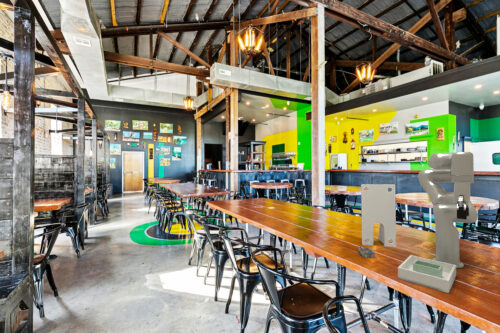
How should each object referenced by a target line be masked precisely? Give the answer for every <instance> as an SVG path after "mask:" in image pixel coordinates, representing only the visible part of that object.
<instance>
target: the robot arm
mask: <svg viewBox="0 0 500 333" xmlns="http://www.w3.org/2000/svg"><path fill="white" fill-rule="evenodd" d="M474 164H475V163H474V153H473V152H471V151H457V152H456V151H455V152H435V153H432V154H431V155H430V157H429V158H428V160H427V165H428V167H429V168H425V169H422V170H420V171H419V172H418V174H417V175H418V177H417V178H418V181H419V182H418V183H419V184H420V186H421V188H422V189H423V190H424V191H425V192H426V193H427V196H428V197H429V200H430V202H431V204H432V205H433V208H432V213H433V218H434V225H435V226H434V227H435V230H434V231H435V256H434V257H433V258H432V259H431V260H435V261H439V262H444V263H448V264H453V265H456V269H462V268H464V263H463V262H461V261H460V232H459V229H458V228H457V226H455V225H454V223H461V224H464V223H465V224H472V223H475V222H477V221H478V219H479V215H478V210H477V209H476V207H475V206H474V204H473V203H472V201H471V184H474V183H475V174H474V173H475V170H474V168H475V167H474ZM439 183H440V184H439ZM441 183H442V184H443V183H454V184H453V191H446V190H445V188H444V186H442V185H441Z"/></svg>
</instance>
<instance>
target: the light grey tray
mask: <svg viewBox="0 0 500 333" xmlns="http://www.w3.org/2000/svg"><path fill="white" fill-rule="evenodd" d="M415 260H420V261H424V262H428V263H433V264H437V265H441V266H442V276H443V277H442V278H438V277H435V276H431V275H427V274H423V273H419V272H416V271H413V263H414V262H415ZM456 277H457V268H456V265H453V264H448V263H444V262H439V261H435V260H432V259H429V258H425V257H420V256H418V255H413V254H409V256H408V257H407V258H406V259H405V260H404V261H403V262H402V263H401V264H400V265H399V266H398V267H397V278H398V279H399V280H402V281H406V282H409V283H413V284H416V285H420V286H423V287H426V288H430V289H432V290H435V291H440V292H443V293H446V294H449V293H450V291H451V290H452V287H453V285H454V283H455V280H456Z"/></svg>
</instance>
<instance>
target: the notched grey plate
mask: <svg viewBox="0 0 500 333" xmlns="http://www.w3.org/2000/svg"><path fill="white" fill-rule="evenodd" d="M366 188H367V190H365V189H366ZM389 188H391V191H389ZM360 190H361V192H360V197H361V199H360V200H361V202H360V203H361V208H360V209H361V244H362V245H361V246H374V226H375V225H376V224H379V227H378V228H379V229H378V239H377V241H380V242H381V243H382V244H383V247H391V248H396V247H397V225H396V224H397V221H396V220H397V219H396V218H397V216H396V215H397V214H396V213H397V212H396V211H397V210H396V209H397V208H396V207H397V206H396V184H392V183H390V184H384V183H382V184H379V183H378V184H377V183H376V184H375V183H374V184H372V183H370V184H363V183H362V184H360ZM390 240H391V241H392V242H390Z"/></svg>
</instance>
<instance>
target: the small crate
mask: <svg viewBox="0 0 500 333" xmlns="http://www.w3.org/2000/svg"><path fill="white" fill-rule="evenodd" d="M413 271H416V272H419V273H423V274H427V275H431V276H435V277H438V278H442V277H443V276H442V266H441V265H437V264H433V263H428V262H424V261H420V260H415V262H414V263H413Z"/></svg>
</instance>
